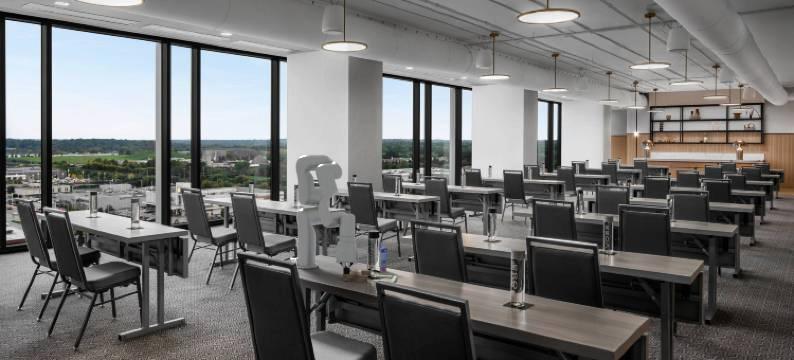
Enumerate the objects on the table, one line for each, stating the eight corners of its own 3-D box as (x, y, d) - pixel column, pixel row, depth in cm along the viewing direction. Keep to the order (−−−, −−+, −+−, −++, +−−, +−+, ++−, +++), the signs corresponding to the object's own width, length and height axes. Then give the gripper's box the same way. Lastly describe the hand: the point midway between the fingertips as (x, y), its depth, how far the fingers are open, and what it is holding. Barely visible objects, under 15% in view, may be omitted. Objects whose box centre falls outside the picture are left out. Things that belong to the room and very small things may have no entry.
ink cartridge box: (387, 270, 307) (387, 243, 305) (380, 272, 302) (381, 245, 301) (372, 267, 312) (373, 241, 311) (366, 269, 308) (366, 242, 307)
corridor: (342, 280, 283) (342, 274, 283) (347, 275, 295) (347, 269, 294) (367, 282, 282) (367, 276, 281) (370, 276, 293) (370, 270, 293)
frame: (373, 282, 281) (373, 280, 281) (376, 276, 293) (376, 274, 293) (394, 283, 280) (394, 281, 280) (396, 277, 292) (396, 275, 292)
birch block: (349, 279, 286) (349, 271, 286) (351, 277, 291) (351, 269, 291) (359, 280, 285) (359, 272, 285) (361, 277, 290) (361, 269, 290)
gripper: (330, 239, 284) (330, 276, 286) (360, 240, 283) (359, 277, 284) (334, 236, 292) (333, 272, 293) (363, 238, 290) (362, 274, 291)
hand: (346, 275), depth 288 cm, fingers closed
